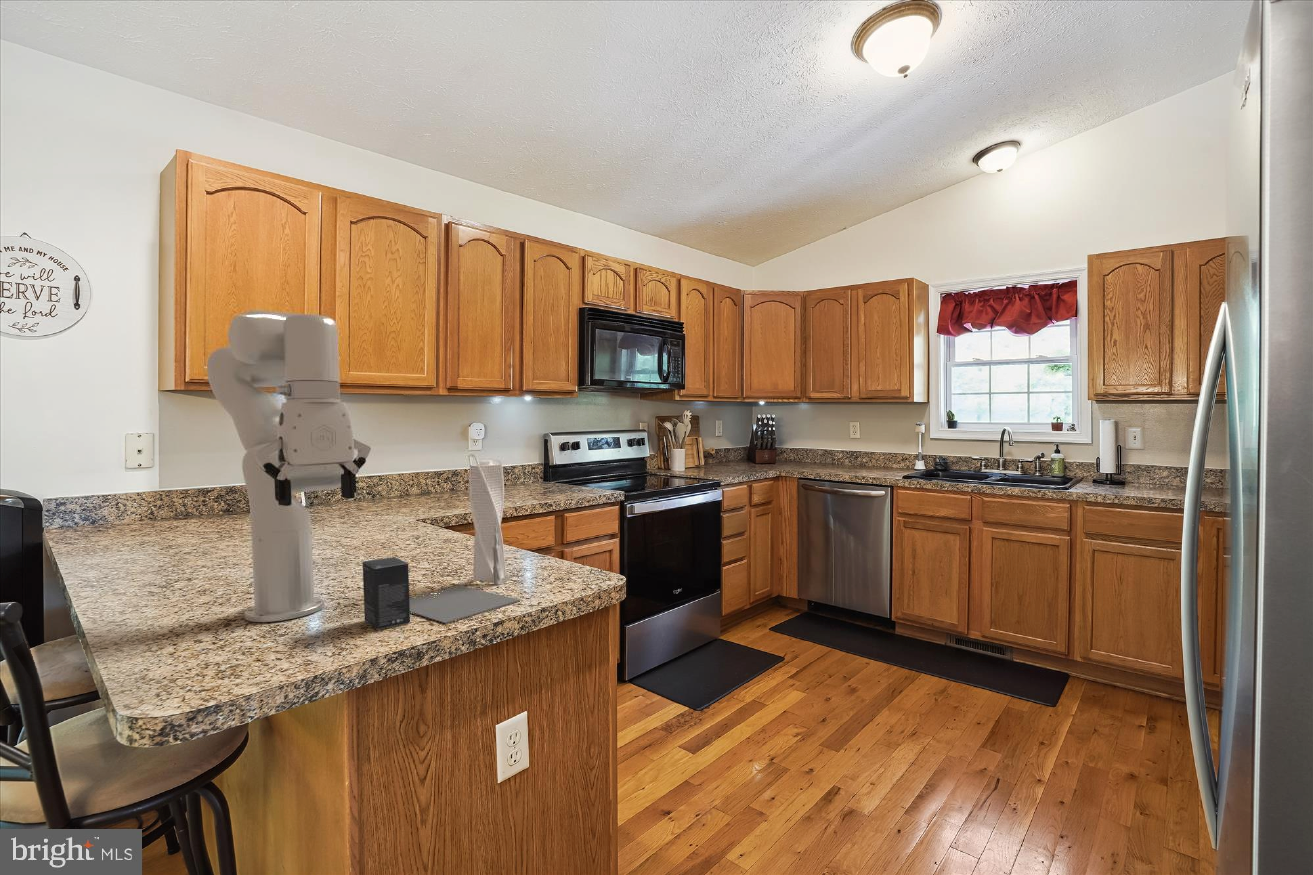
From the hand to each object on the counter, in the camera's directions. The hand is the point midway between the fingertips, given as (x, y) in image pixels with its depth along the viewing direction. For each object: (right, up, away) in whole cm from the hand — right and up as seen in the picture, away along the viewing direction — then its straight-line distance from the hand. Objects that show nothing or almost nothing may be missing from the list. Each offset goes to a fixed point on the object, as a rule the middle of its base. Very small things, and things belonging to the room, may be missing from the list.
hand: (317, 501), depth 98 cm
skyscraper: (+18, -21, +36) cm, 46 cm away
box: (+7, -22, +9) cm, 25 cm away
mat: (+15, -21, +19) cm, 32 cm away
